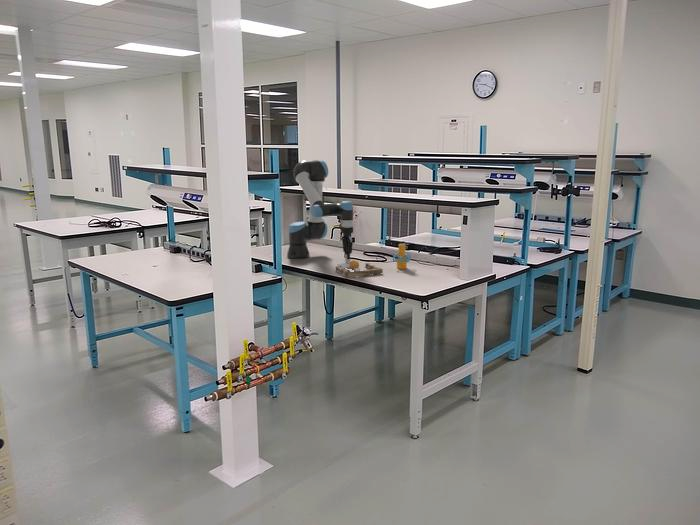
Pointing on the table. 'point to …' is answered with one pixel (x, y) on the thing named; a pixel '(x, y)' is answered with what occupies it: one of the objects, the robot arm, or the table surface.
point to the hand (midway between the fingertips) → (347, 263)
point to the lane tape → (345, 266)
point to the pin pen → (370, 266)
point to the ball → (354, 265)
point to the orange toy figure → (401, 257)
